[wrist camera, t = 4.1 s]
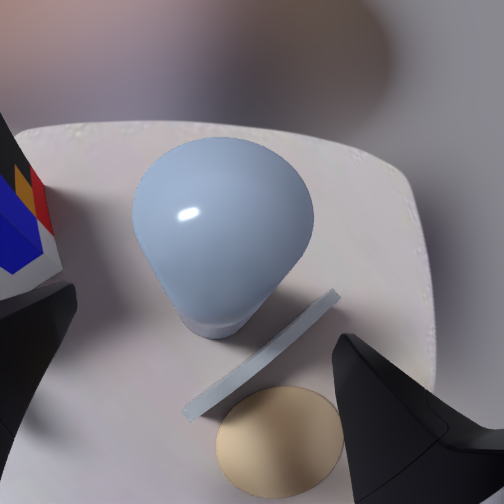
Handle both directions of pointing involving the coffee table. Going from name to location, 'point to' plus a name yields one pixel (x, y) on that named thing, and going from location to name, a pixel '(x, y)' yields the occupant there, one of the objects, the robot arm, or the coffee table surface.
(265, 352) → the acrylic wall
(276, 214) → the pale blue domed part
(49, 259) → the puzzle toy
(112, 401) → the coffee table surface
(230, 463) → the cork coaster
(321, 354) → the coffee table surface
